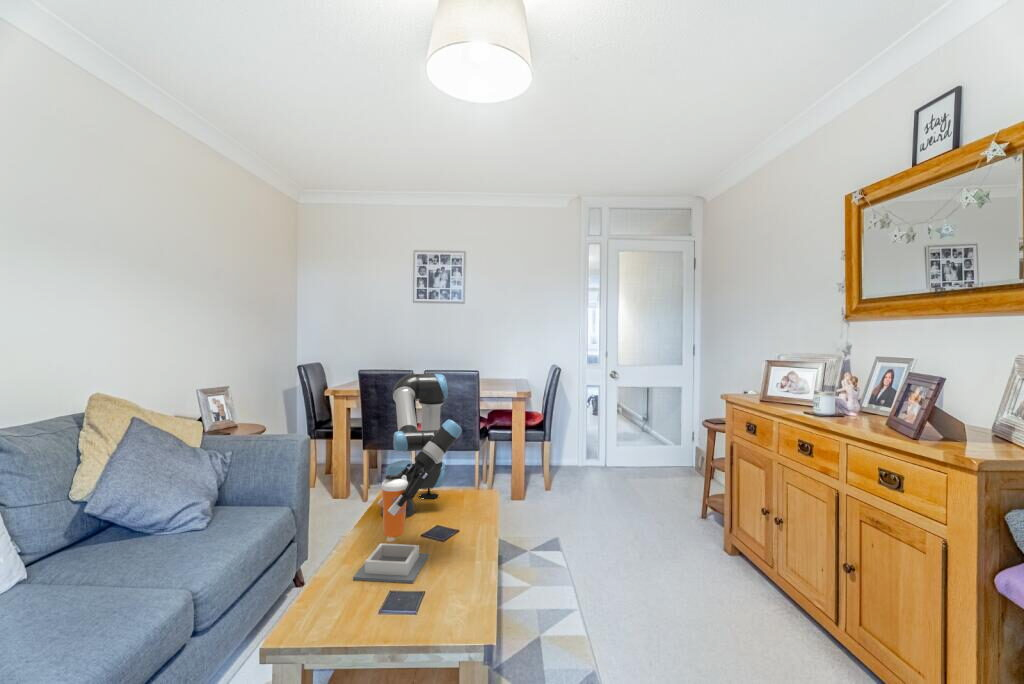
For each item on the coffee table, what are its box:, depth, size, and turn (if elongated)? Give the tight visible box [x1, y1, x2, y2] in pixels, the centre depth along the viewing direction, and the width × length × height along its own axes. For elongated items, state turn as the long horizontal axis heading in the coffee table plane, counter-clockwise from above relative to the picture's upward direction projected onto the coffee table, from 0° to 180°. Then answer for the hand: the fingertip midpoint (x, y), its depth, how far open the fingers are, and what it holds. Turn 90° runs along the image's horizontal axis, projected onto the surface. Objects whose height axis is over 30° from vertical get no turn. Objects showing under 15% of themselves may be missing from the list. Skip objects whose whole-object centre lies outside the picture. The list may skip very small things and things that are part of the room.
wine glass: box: [418, 488, 439, 500], centre depth 237 cm, size 10×10×20 cm
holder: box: [352, 543, 429, 584], centre depth 160 cm, size 20×20×5 cm
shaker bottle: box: [381, 473, 408, 538], centre depth 160 cm, size 9×9×20 cm
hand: (385, 509), depth 158 cm, fingers closed on shaker bottle, 9 cm apart
